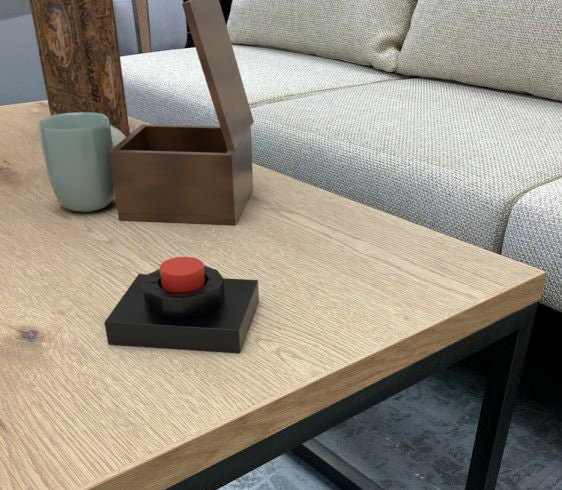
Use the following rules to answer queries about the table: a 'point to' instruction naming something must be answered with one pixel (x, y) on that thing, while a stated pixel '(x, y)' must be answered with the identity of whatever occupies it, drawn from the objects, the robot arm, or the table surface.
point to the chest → (181, 175)
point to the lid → (219, 69)
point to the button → (182, 274)
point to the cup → (78, 159)
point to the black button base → (184, 314)
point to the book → (81, 58)
